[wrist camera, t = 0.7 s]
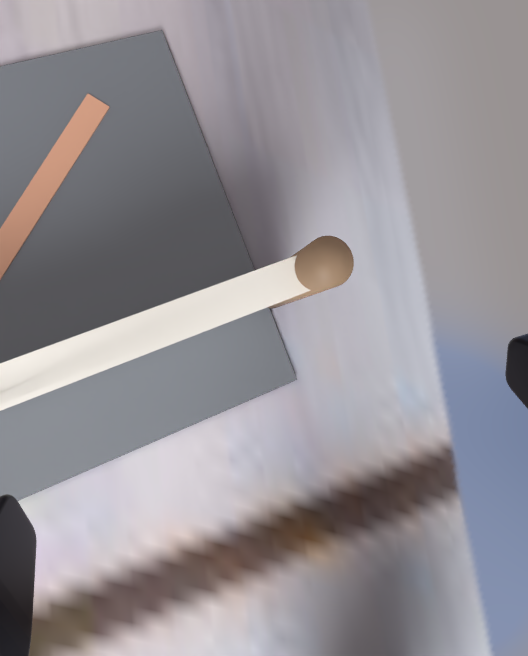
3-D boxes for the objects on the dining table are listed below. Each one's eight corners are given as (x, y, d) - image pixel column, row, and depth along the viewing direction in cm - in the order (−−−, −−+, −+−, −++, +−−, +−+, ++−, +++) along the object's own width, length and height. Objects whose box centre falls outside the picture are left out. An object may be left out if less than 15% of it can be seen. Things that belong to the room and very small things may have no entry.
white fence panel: (-85, 448, 20) (-266, 522, 12) (-101, 411, 20) (-295, 458, 11) (292, 301, 24) (360, 277, 16) (280, 270, 24) (342, 228, 16)
